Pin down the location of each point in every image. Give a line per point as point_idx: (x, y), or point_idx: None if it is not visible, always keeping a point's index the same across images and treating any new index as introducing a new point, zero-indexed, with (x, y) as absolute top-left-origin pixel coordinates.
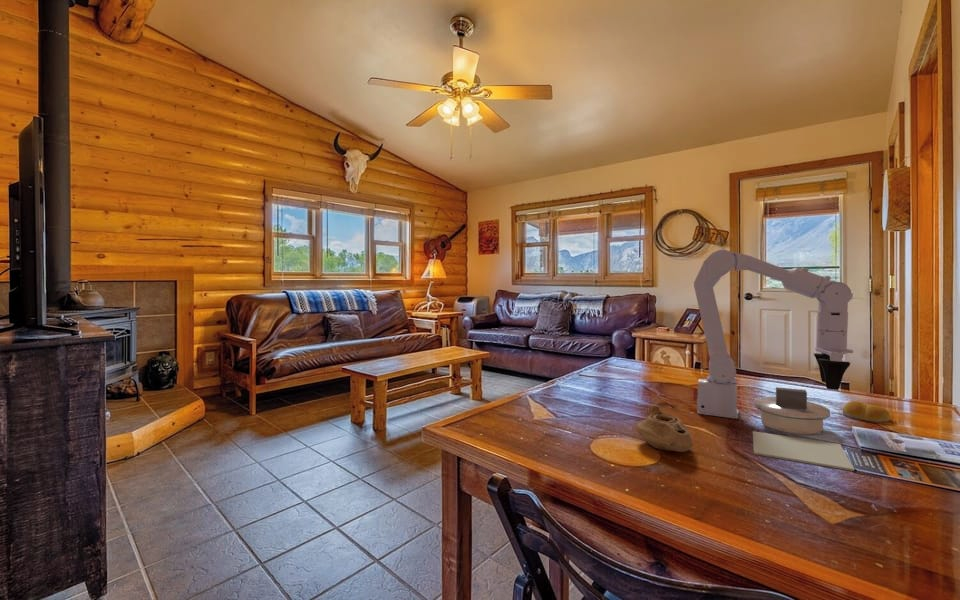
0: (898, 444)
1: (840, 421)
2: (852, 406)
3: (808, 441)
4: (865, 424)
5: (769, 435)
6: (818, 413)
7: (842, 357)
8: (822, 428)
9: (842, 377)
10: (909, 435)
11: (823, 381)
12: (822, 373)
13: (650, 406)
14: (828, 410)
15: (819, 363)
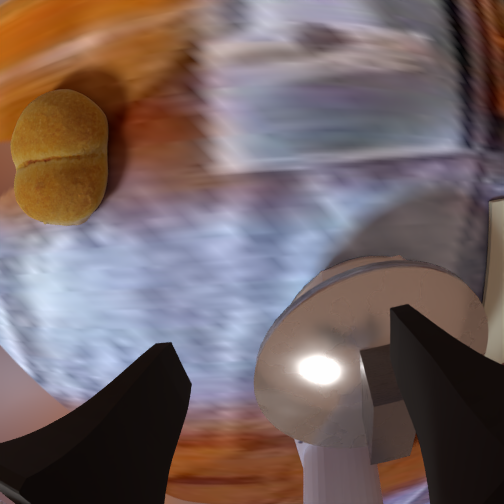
0: (363, 38)
1: (183, 213)
2: (72, 199)
3: (502, 273)
4: (158, 138)
5: (487, 346)
6: (450, 299)
7: (29, 475)
8: (401, 258)
9: (471, 348)
10: (206, 11)
11: (190, 384)
12: (175, 430)
13: None
14: (383, 275)
15: (162, 502)
